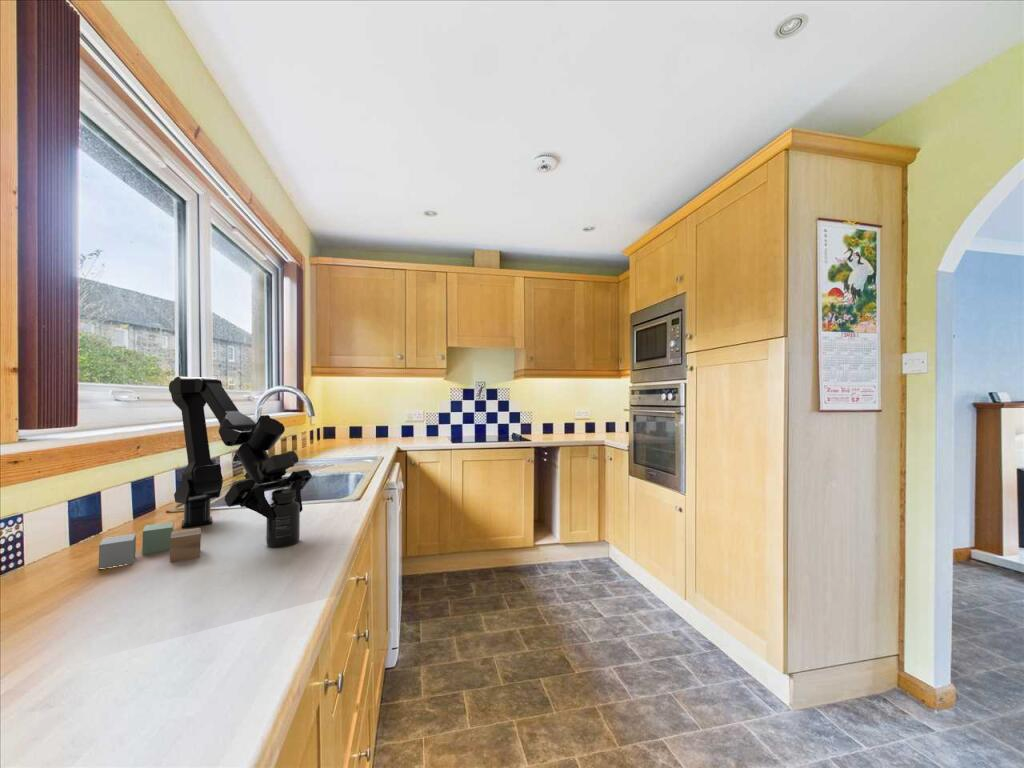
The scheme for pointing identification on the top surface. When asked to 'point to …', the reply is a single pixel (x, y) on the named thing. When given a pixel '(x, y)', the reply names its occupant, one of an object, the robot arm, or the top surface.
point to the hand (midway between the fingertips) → (287, 515)
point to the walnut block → (185, 544)
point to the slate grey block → (117, 550)
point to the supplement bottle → (283, 519)
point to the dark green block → (157, 537)
